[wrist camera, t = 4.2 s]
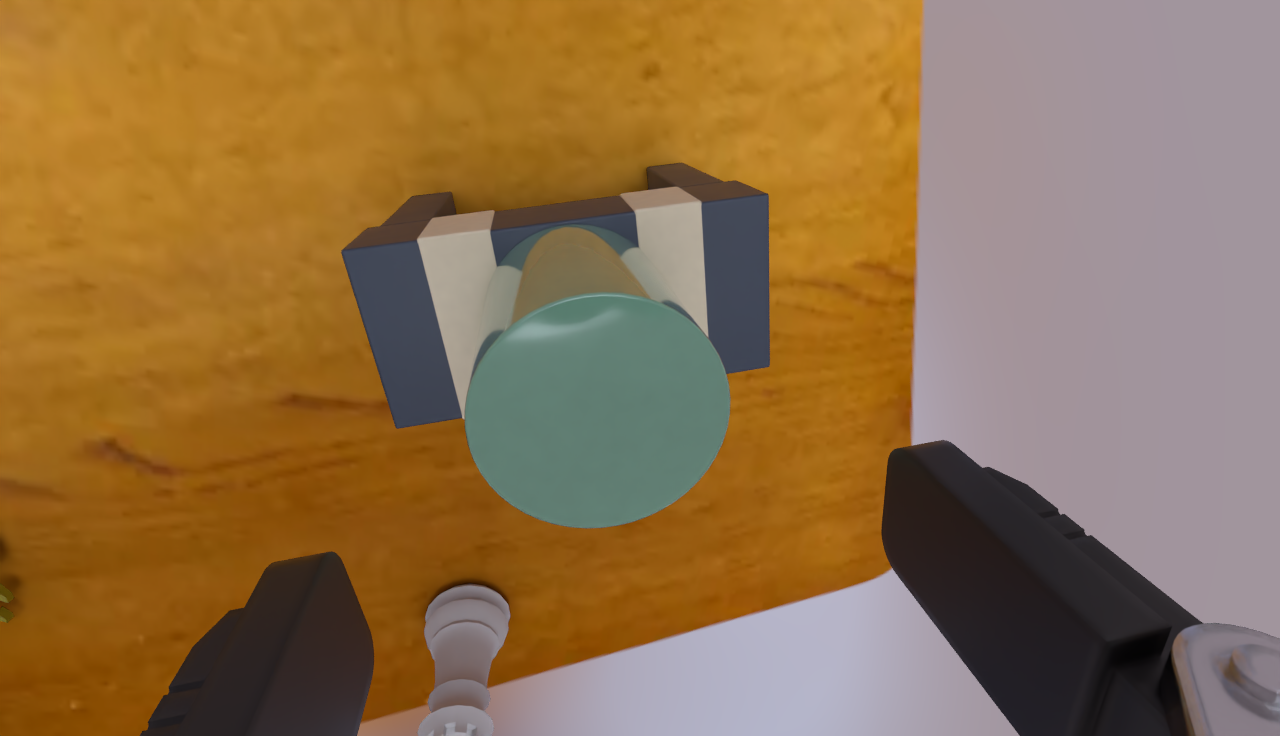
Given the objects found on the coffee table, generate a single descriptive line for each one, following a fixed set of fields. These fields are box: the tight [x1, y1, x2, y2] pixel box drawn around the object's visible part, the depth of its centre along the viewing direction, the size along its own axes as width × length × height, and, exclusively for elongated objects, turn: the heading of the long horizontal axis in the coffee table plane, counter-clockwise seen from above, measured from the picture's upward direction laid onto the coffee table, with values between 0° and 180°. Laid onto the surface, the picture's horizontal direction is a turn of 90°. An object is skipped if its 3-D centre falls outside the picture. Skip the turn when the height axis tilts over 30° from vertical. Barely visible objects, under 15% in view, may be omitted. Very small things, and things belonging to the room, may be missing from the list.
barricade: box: [341, 163, 770, 428], centre depth 22 cm, size 12×6×9 cm, turn 96°
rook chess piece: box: [418, 584, 510, 736], centre depth 30 cm, size 4×4×8 cm
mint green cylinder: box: [464, 224, 730, 528], centre depth 15 cm, size 5×5×6 cm
